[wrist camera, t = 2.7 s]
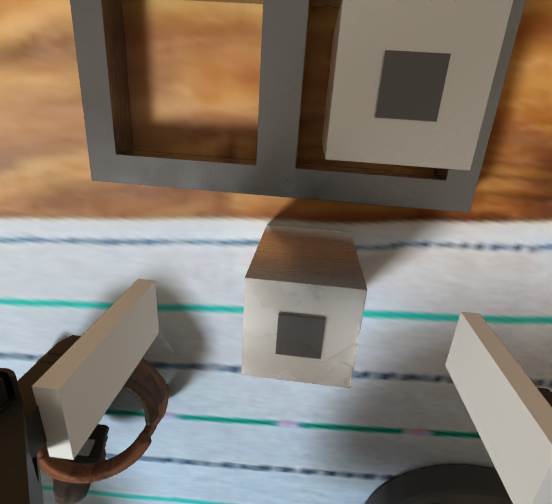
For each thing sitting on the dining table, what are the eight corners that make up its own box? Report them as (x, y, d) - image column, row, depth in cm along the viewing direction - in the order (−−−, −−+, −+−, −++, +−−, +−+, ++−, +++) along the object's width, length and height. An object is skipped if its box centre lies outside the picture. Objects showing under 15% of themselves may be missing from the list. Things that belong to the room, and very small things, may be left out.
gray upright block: (436, 42, 18) (515, -2, 11) (415, 148, 20) (471, 171, 13) (332, 37, 18) (344, -9, 11) (321, 141, 20) (325, 159, 13)
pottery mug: (35, 312, 27) (5, 363, 19) (168, 315, 31) (185, 358, 23) (23, 461, 28) (-9, 562, 21) (151, 446, 32) (162, 526, 25)
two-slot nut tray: (511, -24, 17) (536, -40, 15) (455, 203, 21) (469, 212, 19) (88, -41, 18) (62, -58, 16) (110, 174, 22) (91, 180, 20)
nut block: (350, 232, 22) (367, 291, 15) (340, 305, 24) (350, 390, 17) (267, 224, 22) (244, 279, 15) (262, 297, 24) (240, 377, 17)
